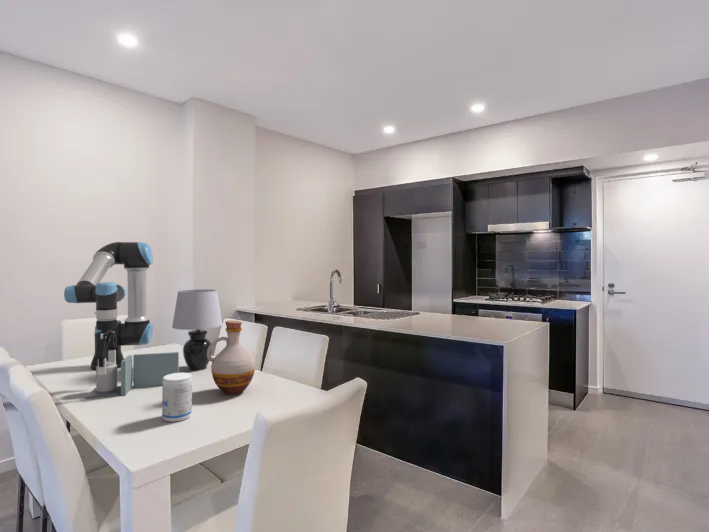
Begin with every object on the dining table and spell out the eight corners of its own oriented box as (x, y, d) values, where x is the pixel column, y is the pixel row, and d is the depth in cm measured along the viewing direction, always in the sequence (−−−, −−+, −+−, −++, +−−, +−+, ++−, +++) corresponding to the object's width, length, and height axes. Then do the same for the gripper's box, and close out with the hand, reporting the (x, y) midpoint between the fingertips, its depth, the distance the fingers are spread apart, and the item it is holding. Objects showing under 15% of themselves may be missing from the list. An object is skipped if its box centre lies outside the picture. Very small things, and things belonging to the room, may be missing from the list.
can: (91, 392, 165) (91, 363, 165) (106, 387, 172) (106, 359, 172) (107, 394, 164) (107, 365, 163) (121, 388, 171) (121, 360, 171)
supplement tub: (157, 417, 141) (157, 376, 141) (183, 410, 148) (183, 370, 148) (170, 425, 135) (170, 381, 135) (197, 417, 142) (197, 375, 142)
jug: (209, 402, 156) (209, 325, 156) (203, 389, 172) (204, 319, 172) (259, 395, 165) (260, 322, 165) (250, 383, 181) (250, 317, 181)
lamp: (228, 370, 203) (228, 291, 202) (177, 377, 189) (177, 293, 189) (215, 360, 223) (215, 288, 222) (168, 366, 209) (168, 290, 209)
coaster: (95, 389, 172) (95, 387, 172) (126, 386, 175) (126, 385, 175) (85, 398, 161) (85, 396, 161) (119, 395, 164) (119, 394, 164)
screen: (129, 386, 176) (128, 354, 176) (178, 382, 181) (178, 352, 181) (121, 395, 164) (121, 361, 163) (174, 391, 169) (174, 358, 169)
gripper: (105, 315, 179) (106, 362, 179) (85, 325, 155) (86, 379, 155) (124, 314, 181) (125, 361, 181) (107, 324, 157) (108, 378, 158)
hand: (107, 369), depth 168 cm, fingers open, 13 cm apart
